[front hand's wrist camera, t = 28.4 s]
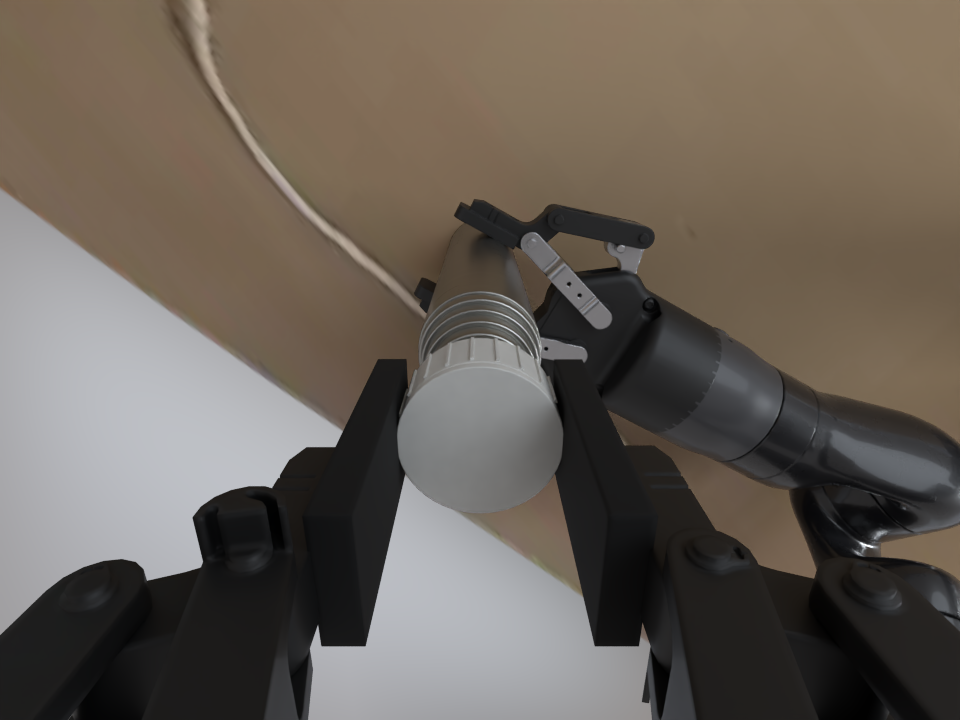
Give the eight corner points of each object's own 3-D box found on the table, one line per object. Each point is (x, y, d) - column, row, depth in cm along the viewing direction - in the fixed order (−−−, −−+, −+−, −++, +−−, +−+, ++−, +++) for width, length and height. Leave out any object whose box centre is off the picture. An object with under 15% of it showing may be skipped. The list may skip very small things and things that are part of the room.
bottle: (451, 282, 38) (403, 499, 14) (447, 220, 36) (387, 349, 13) (511, 280, 38) (562, 494, 14) (510, 218, 36) (566, 343, 13)
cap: (545, 322, 14) (555, 350, 12) (564, 459, 15) (575, 503, 13) (389, 348, 14) (375, 379, 12) (422, 480, 15) (414, 526, 14)
